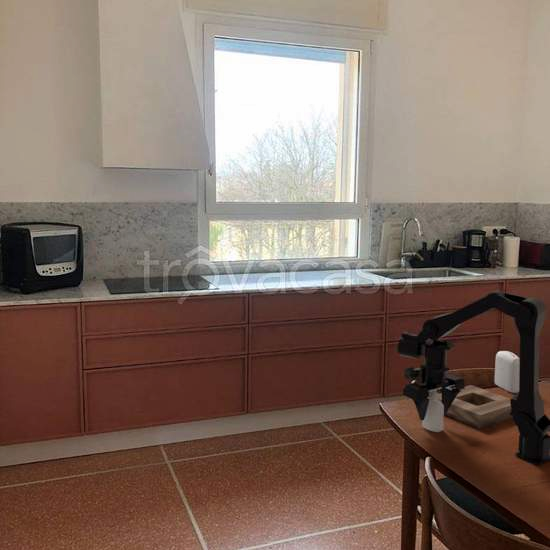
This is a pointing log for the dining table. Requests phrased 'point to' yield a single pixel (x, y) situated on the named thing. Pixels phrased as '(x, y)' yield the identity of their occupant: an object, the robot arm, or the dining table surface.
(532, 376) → the robot arm
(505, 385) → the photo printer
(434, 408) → the eye dropper bottle
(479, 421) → the socket block
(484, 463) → the dining table surface
